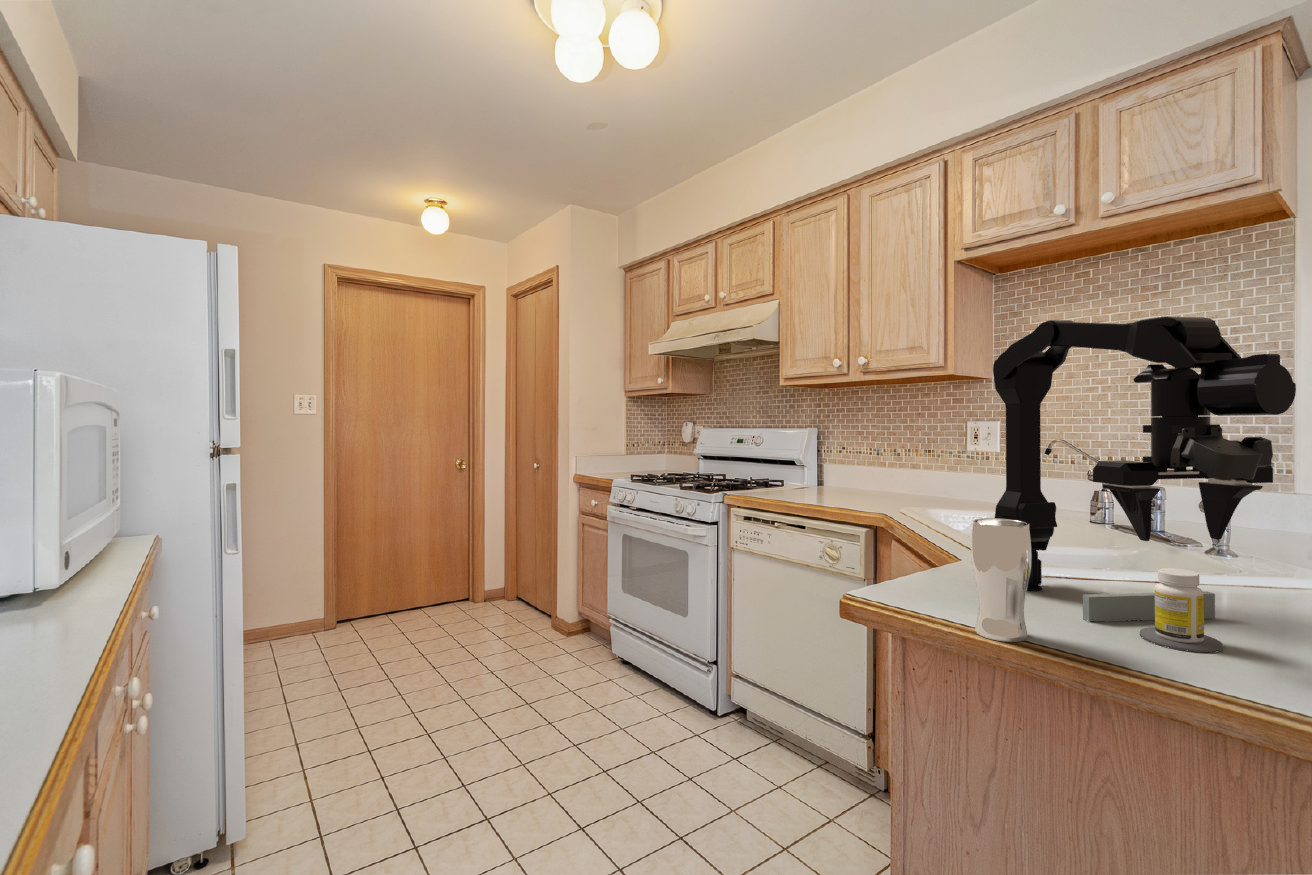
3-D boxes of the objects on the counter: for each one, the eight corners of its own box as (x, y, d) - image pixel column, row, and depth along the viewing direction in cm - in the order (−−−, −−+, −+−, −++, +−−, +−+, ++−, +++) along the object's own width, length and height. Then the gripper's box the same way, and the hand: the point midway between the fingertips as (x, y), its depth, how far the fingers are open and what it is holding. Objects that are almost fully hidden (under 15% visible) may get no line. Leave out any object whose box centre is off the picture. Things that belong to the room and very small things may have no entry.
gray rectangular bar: (1089, 621, 85) (1089, 597, 85) (1082, 619, 86) (1082, 594, 86) (1214, 618, 86) (1214, 593, 86) (1206, 615, 87) (1206, 591, 87)
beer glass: (959, 630, 83) (959, 520, 83) (995, 622, 86) (995, 516, 85) (1007, 647, 77) (1006, 528, 76) (1044, 638, 79) (1043, 523, 79)
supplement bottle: (1185, 631, 80) (1185, 567, 80) (1214, 644, 75) (1214, 576, 75) (1145, 630, 80) (1145, 567, 80) (1172, 643, 76) (1172, 576, 75)
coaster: (1162, 650, 74) (1162, 647, 74) (1127, 628, 82) (1127, 625, 82) (1239, 654, 73) (1239, 651, 73) (1196, 631, 81) (1196, 628, 81)
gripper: (1161, 417, 69) (1162, 555, 69) (1323, 414, 69) (1323, 551, 69) (1089, 418, 80) (1090, 537, 80) (1228, 415, 80) (1228, 533, 81)
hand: (1180, 539), depth 77 cm, fingers open, 9 cm apart
